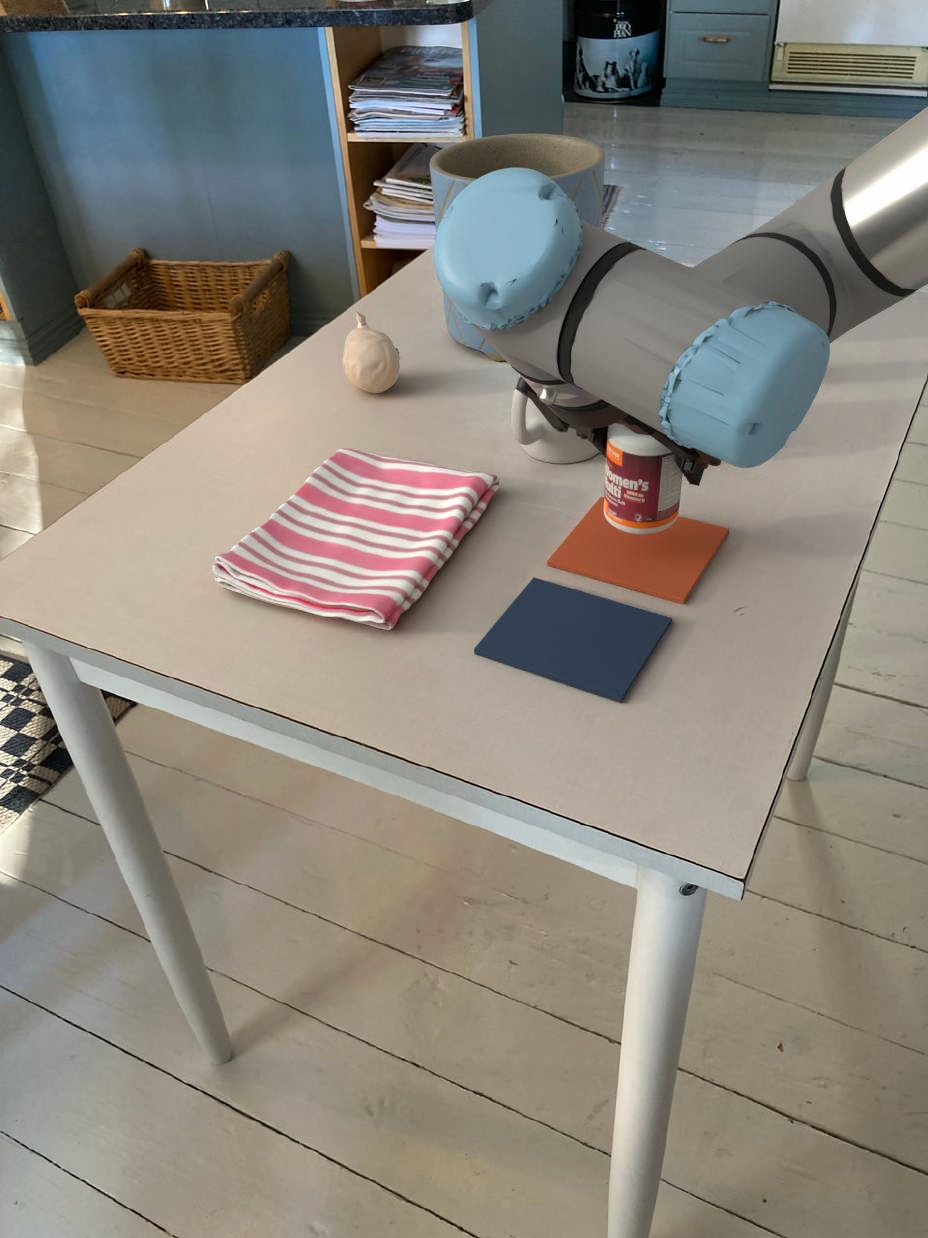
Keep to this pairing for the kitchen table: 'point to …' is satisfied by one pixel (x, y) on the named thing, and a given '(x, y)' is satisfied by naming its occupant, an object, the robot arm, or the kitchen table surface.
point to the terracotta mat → (640, 554)
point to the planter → (550, 154)
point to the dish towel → (358, 537)
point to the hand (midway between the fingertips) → (659, 460)
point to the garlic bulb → (370, 358)
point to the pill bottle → (640, 482)
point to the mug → (546, 435)
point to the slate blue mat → (575, 638)
